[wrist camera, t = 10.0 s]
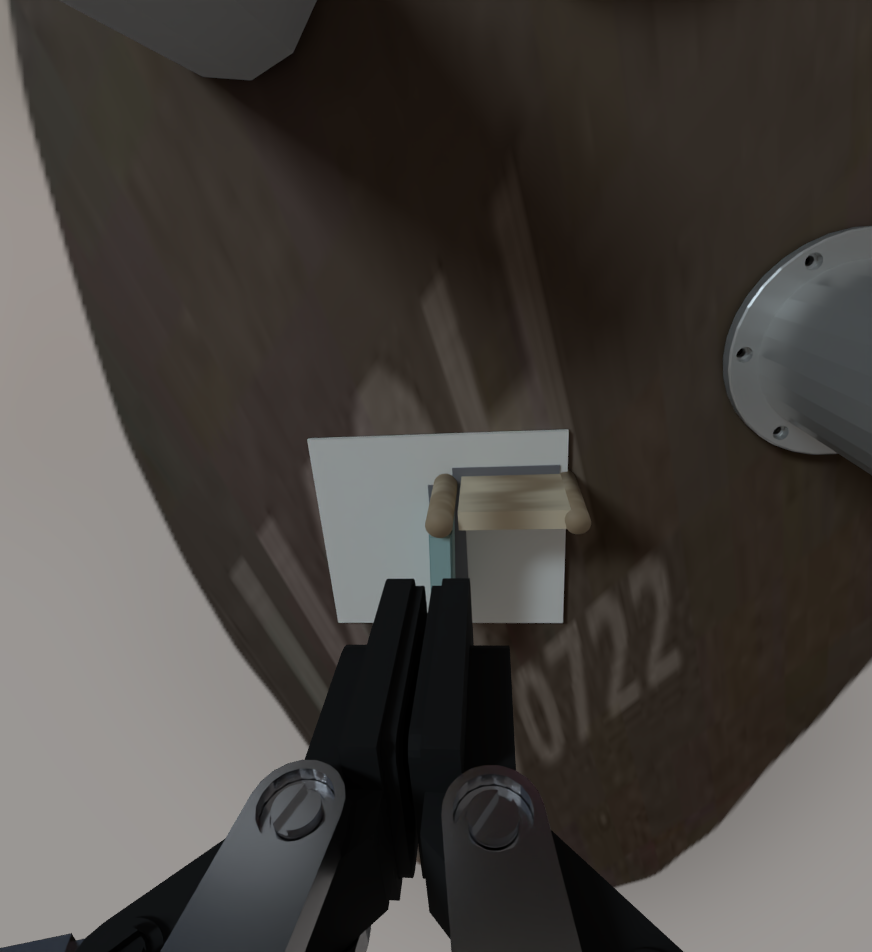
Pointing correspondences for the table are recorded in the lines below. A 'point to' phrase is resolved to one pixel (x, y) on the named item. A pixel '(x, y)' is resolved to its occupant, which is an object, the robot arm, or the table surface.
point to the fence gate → (442, 557)
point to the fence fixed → (508, 503)
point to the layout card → (404, 515)
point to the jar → (208, 31)
